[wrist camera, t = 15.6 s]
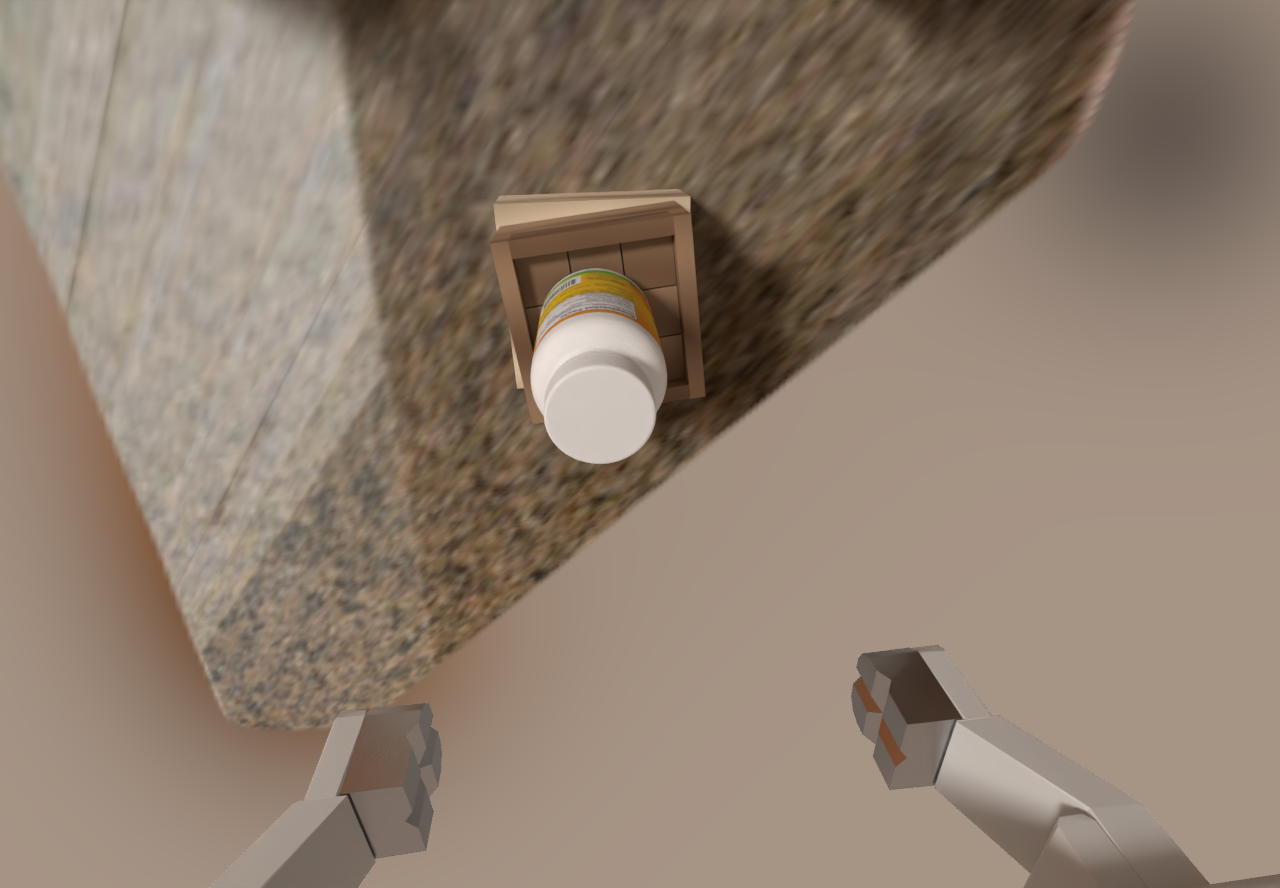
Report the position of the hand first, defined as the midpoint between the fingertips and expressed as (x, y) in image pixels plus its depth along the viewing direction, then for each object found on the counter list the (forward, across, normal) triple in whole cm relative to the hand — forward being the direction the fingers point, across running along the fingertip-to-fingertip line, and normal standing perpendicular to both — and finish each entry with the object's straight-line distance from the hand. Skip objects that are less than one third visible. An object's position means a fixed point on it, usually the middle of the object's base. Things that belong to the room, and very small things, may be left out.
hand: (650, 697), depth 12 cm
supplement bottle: (+21, 0, -1) cm, 21 cm away
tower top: (+25, 0, -1) cm, 25 cm away
